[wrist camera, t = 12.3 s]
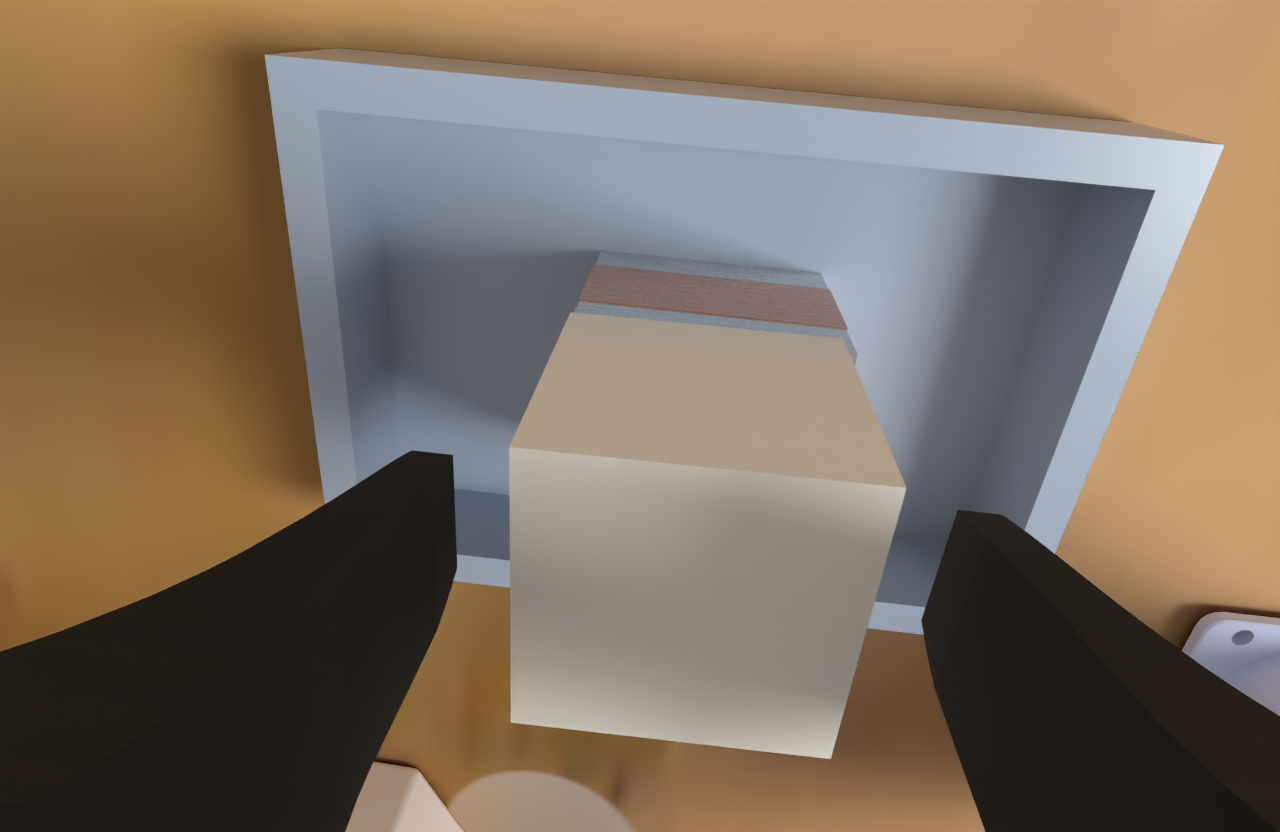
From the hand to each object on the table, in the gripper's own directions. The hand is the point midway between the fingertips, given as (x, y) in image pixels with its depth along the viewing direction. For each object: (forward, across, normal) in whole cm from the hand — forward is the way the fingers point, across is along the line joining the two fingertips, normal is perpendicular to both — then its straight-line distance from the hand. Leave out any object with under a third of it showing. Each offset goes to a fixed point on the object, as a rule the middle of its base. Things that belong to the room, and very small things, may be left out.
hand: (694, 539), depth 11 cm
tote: (+8, 0, 0) cm, 8 cm away
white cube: (+3, 0, 0) cm, 3 cm away
